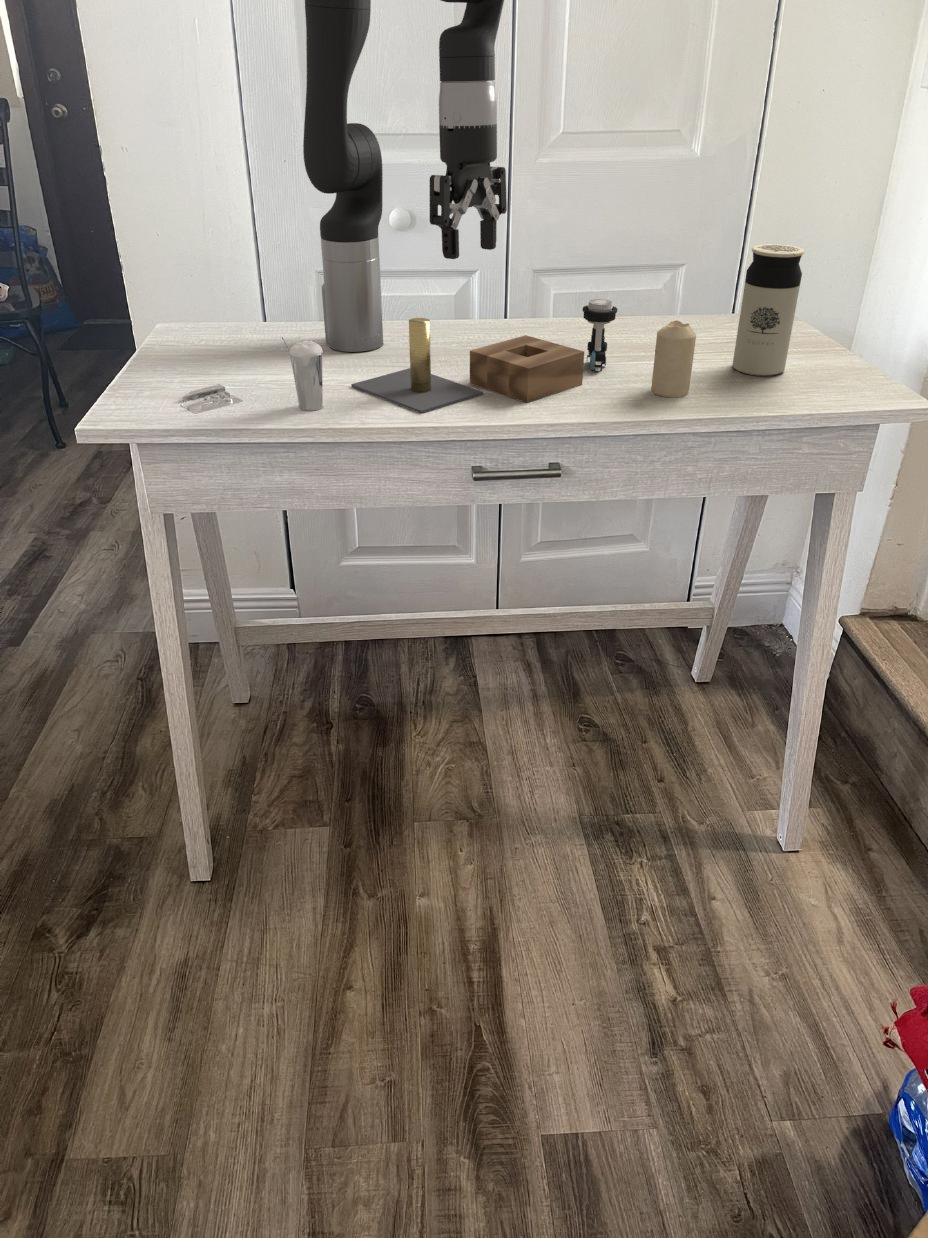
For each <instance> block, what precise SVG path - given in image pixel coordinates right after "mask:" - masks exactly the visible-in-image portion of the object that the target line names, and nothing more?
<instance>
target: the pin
mask: <svg viewBox="0 0 928 1238" xmlns="http://www.w3.org/2000/svg"><path fill="white" fill-rule="evenodd" d="M408 335H409V337H408V338H409V340H408V341H409V342H408V343H409V344H408V345H409V368H410V378H411V391H413V392H416V393H425V392H429V391H431V374H432V370H431V367H432V365H431V363H432V359H431V357H432V356H431V320H430V319H429V318H426V317H425V318H424V317H414V318H410V319H408Z"/></svg>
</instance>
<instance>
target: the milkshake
mask: <svg viewBox="0 0 928 1238" xmlns="http://www.w3.org/2000/svg"><path fill="white" fill-rule="evenodd" d="M281 339H282V341H283V342H284V344H285V346H286V349H287V350H288V353H289V358H290V364H291V369H292V374H293V379H294V384H295V389H296V390H295V391H296V396H297V403H298V407H299V409H300V410H302V411H306V412H312V411H317V410H321V409H322V408H323V407H324V403H323V401H324V399H323V395H324V394H323V393H324V392H323V355H324V353H323V348H322V346H321V345H320V344H318V343H316V342H315V341H312V340H302V341H301V342H296V343H294V344H293V345H292V346H291V347H290V349H289V347H288V345H287V343H286V341H285V340H284V338H283V336H281Z"/></svg>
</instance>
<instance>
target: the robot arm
mask: <svg viewBox="0 0 928 1238" xmlns="http://www.w3.org/2000/svg"><path fill="white" fill-rule="evenodd" d="M440 1H441V2H444V3H451V4H452V3H462V4H465V9H464V14H463V17H462V20H461V22H460V23H459V24H457V25H454V26H450V27H448V28H446V29H444V30H443V31H442V32H441V34H440V37H439V40H438V41H439V42H438V57H439V58H438V59H439V60H438V61H439V66H438V67H439V94H438V124H439V125H438V126H439V127H438V130H439V133H438V134H439V157H440V158H439V159H440V161H441V162H442V163H444V164H445V165H446V170H445V171H446V172H445V175H444V174H431V175H430V176H429V223H430V225H433V226H437V227H438V228H440V230H441V250H442V254H443V258H445V259H446V260H448V259H450V260H456V259H459V257H460V237H459V236H460V230H459V228H458V227H459V224H460V221H461V218H462V217H463V215H465V214H466V213H467V212H468V209H469V208H472V207H473V208H475V209H476V210H477V213H478V216H479V217H480V218H481V220H479V221H480V222H479V223H480V224H479V225H480V228H479V233H480V242H479V243H480V248H481V249H483V250H489V251H491V250H492V251H493V250H494V249H495V248H496V247H497V221H498V220H499V218H500V216H501V215H504V214H506V213H507V210H508V202H507V177H506V175H507V172H506V168H505V167H504V166H491V163H493V162H496V160H497V158H498V126H497V125H498V119H497V118H498V117H497V116H498V112H497V111H498V103H497V102H498V101H497V92H496V82H495V80H496V71H495V70H496V68H495V67H496V63H495V62H496V60H495V59H496V53H495V44H496V39H497V35H498V32H499V31H498V30H499V27H500V23H501V21H500V20H501V16H502V11H503V8H504V4H505V0H440ZM371 3H372V2H371V0H304V11H305V12H304V13H305V14H304V15H305V28H306V29H305V32H306V37H305V39H306V41H305V44H306V46H305V47H306V91H305V92H306V93H305V106H304V107H305V108H304V109H305V111H304V126H303V142H302V143H303V144H302V147H303V148H302V150H303V152H302V153H303V154H302V155H303V163H304V167H305V171H306V175H307V177H308V180H309V181H310V183H311V184H312V186H313V188H315V189H316V190H318V192H320V193H323V194H331V195H332V194H335V199H334V203H333V204H332V206H331V208H330V209H329V210H328V211H327V212H326V213H325V214H324V215H323V216H322V217H321V219H320V222H319V236H320V244H321V245H320V246H321V258H322V260H321V261H322V273H323V284H322V285H321V294H322V295H321V296H322V297H321V298H322V310H323V321H324V322H323V323H324V324H323V325H324V334H325V336H324V337H325V343H328V346H329V347H330V348H331V349H333V350H335V351H339V352H340V351H341V352H349V353H350V352H351V353H352V352H353V353H356V352H357V353H358V352H366V351H373V350H376V349H379V348H381V347H382V346H383V344H384V332H383V330H384V329H383V308H382V304H383V303H382V288H381V287H382V285H381V265H380V264H381V262H380V243H379V241H380V239H379V225H380V222H381V220H382V216H383V179H384V178H383V158H382V151H381V147H380V143H379V141H378V139H377V136H376V135H375V133H374V132H373V131H372V129H371V128H369V126H366V125H365V124H362V123H357V122H354V123H353V122H349V123H348V97H349V96H348V95H349V90H350V85H351V80H352V77H353V74H354V72H355V69H356V66H357V63H358V61H359V59H360V56H361V54H362V51H363V49H364V46H365V43H366V39H367V37H368V33H369V29H370V23H371V13H372V12H371V9H372V6H371ZM496 196H498V203H497V199H496ZM439 206H440V208H441V209H440V210H441V211H440V212H441V213H440V215H439ZM451 215H452V216H451ZM450 216H451V217H450Z"/></svg>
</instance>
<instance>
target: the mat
mask: <svg viewBox="0 0 928 1238" xmlns="http://www.w3.org/2000/svg"><path fill="white" fill-rule="evenodd" d="M351 388H354V389H356V390H358V391H362V392H364V393H366V394H369V395H372V396H375V397H377V398H380V399H382V400H384V401H388V402H389V403H393V404H395V405H398V406H401V407H402V408H403V407H404V408H405V409H409V410H411V411H414V412H416V413H419V414H421V415H422V414H424V413H428V412H432V411H434V410H438V409H441V408H444V407H447V406H450V405H454V404H456V403H459V402H463V401H467V400H470V399H474V398H476V397H479V396H482V395H484V391H483V390H479V389H476V388H473V387H471V386H468V385H465V384H462V383H460V382H459V383H458V382H456V381H453V380H450V379H447V378H445V377H442V376H438V375H436V374H433V373H431V391H429V392H425V393H416V392H413V391H411V378H410V367H409V368H405V369H402V370H397V371H395V372H391V373H387V374H383V375H380V376H375V377H373V378H369V379H366V380H360V381H358V382H355V383H354V382H353V383H351Z"/></svg>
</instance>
